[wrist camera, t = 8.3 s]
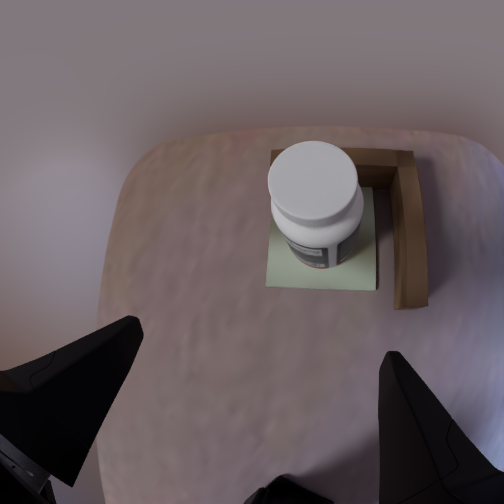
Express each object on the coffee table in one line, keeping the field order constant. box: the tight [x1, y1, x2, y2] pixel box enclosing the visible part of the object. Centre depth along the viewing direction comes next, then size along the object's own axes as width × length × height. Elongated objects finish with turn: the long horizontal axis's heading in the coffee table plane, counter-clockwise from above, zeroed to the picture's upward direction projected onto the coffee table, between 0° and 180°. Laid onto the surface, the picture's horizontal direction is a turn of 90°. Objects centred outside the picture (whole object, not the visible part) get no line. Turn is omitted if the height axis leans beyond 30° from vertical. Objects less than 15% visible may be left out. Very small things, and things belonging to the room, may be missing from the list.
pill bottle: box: [268, 141, 364, 269], centre depth 18 cm, size 6×6×10 cm
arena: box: [266, 148, 428, 310], centre depth 21 cm, size 12×12×4 cm
